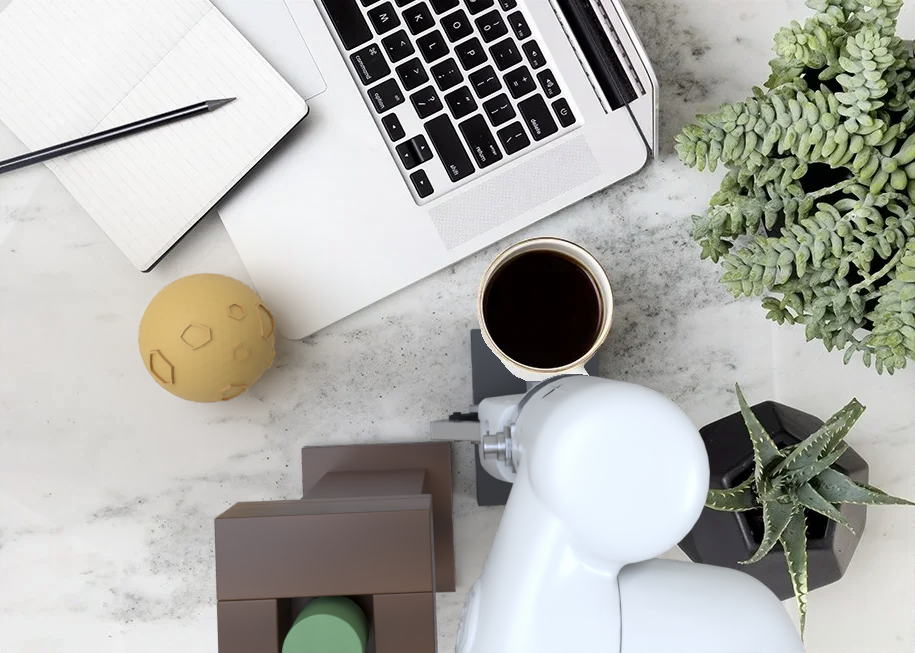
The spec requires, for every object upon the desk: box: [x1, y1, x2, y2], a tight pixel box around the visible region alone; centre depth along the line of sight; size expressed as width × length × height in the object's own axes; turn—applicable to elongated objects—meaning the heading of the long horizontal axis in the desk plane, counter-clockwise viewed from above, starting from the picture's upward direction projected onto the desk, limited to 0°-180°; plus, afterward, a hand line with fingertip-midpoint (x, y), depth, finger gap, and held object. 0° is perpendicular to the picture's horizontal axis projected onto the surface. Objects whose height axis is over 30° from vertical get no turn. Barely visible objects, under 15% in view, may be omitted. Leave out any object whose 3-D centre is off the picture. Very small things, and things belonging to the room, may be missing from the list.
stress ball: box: [138, 272, 277, 404], centre depth 59 cm, size 10×10×10 cm
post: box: [300, 440, 457, 594], centre depth 52 cm, size 12×12×24 cm
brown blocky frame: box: [213, 494, 439, 653], centre depth 38 cm, size 12×10×4 cm
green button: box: [282, 596, 369, 653], centre depth 36 cm, size 4×4×3 cm
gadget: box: [469, 328, 600, 507], centre depth 63 cm, size 14×10×3 cm
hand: (539, 416), depth 61 cm, fingers open, 7 cm apart
